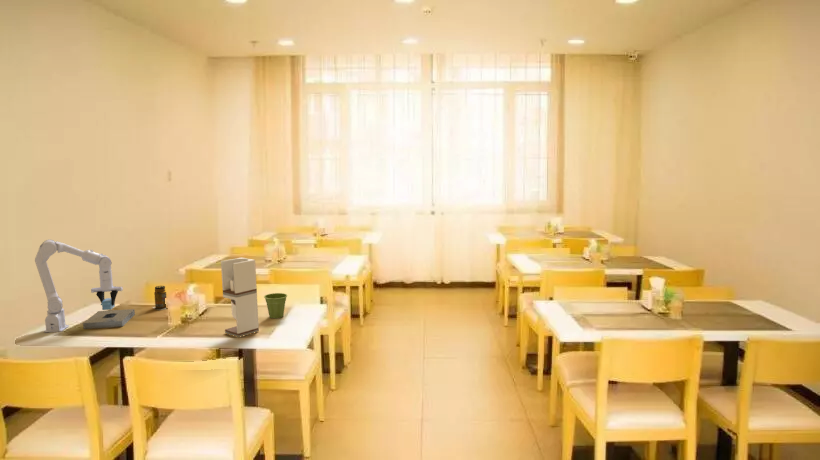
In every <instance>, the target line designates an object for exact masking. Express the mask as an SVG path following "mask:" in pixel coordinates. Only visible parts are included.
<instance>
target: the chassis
mask: <svg viewBox="0 0 820 460" xmlns="http://www.w3.org/2000/svg"><path fill="white" fill-rule="evenodd" d="M135 311H136V310H135V308H129V309H114V310H112V309H111V310H99V311H96V312H95V313H94V314H93V315H91V316H90V317H89V318H88V319H87V320H85V321H84V322H83V323H82V326H83V330H89V329H90V330H91V329H103V328H104V329H105V328H107V329H108V328H109V329H110V328H123V327H124V326H125V325H126V324H127V323H128V322H129V321H130V320H131V319H132V318H133V317H134V316H135V315H136V314H135V313H136V312H135Z"/></svg>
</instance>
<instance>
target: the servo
mask: <svg viewBox="0 0 820 460" xmlns="http://www.w3.org/2000/svg"><path fill="white" fill-rule="evenodd" d="M100 306H101V308H102V310H101V311H109V310H112V309H114V307H115V306H116V304H115V305H113V306H112V302H111V297H106V298H104V300H103V301H102V304H100Z"/></svg>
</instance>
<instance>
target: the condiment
mask: <svg viewBox="0 0 820 460" xmlns="http://www.w3.org/2000/svg"><path fill="white" fill-rule="evenodd" d="M153 293H154V306H152V308H153V309H154V310H156V311H161V310H167V309H166V304H165V298H167V291H166V286H165V285H156V286H155V287H154V292H153Z"/></svg>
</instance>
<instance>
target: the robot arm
mask: <svg viewBox="0 0 820 460" xmlns="http://www.w3.org/2000/svg"><path fill="white" fill-rule="evenodd" d="M56 252H57V253H58V254H59V253H60V254H61V253H64V252H65V253H67V254H68V253H69V254H71V255H74V256H78V257H81V259H82V261H84V262H87V263H90V264H93V265H95V266H97V265H98V266H99V269H98V273H99V274H98V275H99V285H100V286H99V287H92V288H90V291H91V292H90V293H92V294H93V293H96V294H95V295H96V296H97V297H98V299H99V301H100V303H101V304H102V301H103V300H104V299H105V293H106V292H110V293H109V294H110V298H111V302H112V306H113V305H115V306H116V303H115V302H116V297H117V295H118V294H119V293H118V292H122V291H123V290H124V288H123V286H114V282H113V272H112V271H113V270H112V260H111V258H110V257H109V256H108V255H106V254H103V253H99V252H95V251H94V250H93V249H86V250H83V249H79V248H78V247H75V246H72V245H69V244H67V243H64V242H61V241H58V240H57V241H55V240H53V239H46V240H44V241H42V243H41V244H40V245H39V248H38V250H37V252H36V254H35V255H36V256H35V257H34V262H35V265H36V269H37V271H38V274H39V277H40V280H41V283H42V287H43V289H44V292H45V295H46V299H47V310H46V312H47V313H46V315H47V316H46V317H45V319H44V322H45V330H44V332H43V333H54V332H55V333H57V332H63V331H64V330H66V329H67V328H68V327H69V326H70V325H69V324H66V315H65V308H63V306H64V305H63V300H62V298H61V297H60V296H59V294H58V292H57V290H56V286H55V283H54V280H53V277H52V274H51V271H50V267H49V265H48V262H47V261H48V260H49V258H50V257H51V256H53V255H54V254H55V253H56ZM101 304H100V305H101Z"/></svg>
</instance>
